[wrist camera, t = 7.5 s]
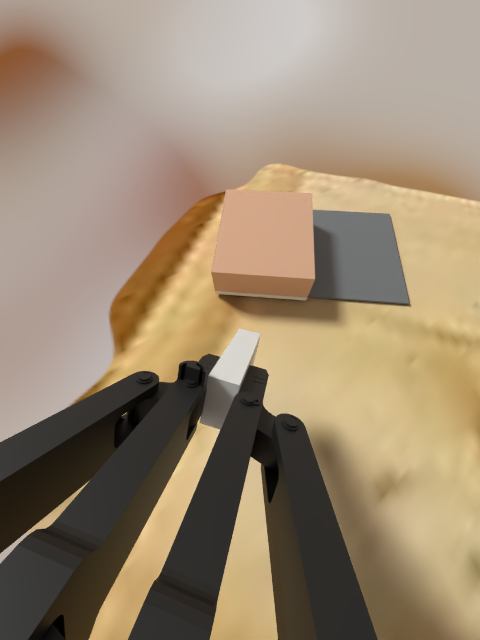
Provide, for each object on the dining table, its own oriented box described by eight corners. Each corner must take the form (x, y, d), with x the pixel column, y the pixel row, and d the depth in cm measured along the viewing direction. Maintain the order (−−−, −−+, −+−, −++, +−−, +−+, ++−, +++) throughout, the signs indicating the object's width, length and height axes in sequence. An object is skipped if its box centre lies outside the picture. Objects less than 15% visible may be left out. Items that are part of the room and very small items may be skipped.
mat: (407, 304, 28) (409, 303, 28) (225, 291, 29) (225, 290, 29) (388, 215, 34) (389, 213, 33) (237, 207, 35) (237, 205, 35)
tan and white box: (315, 279, 24) (312, 193, 30) (211, 272, 25) (226, 189, 30) (306, 300, 28) (304, 220, 33) (215, 293, 29) (228, 216, 34)
